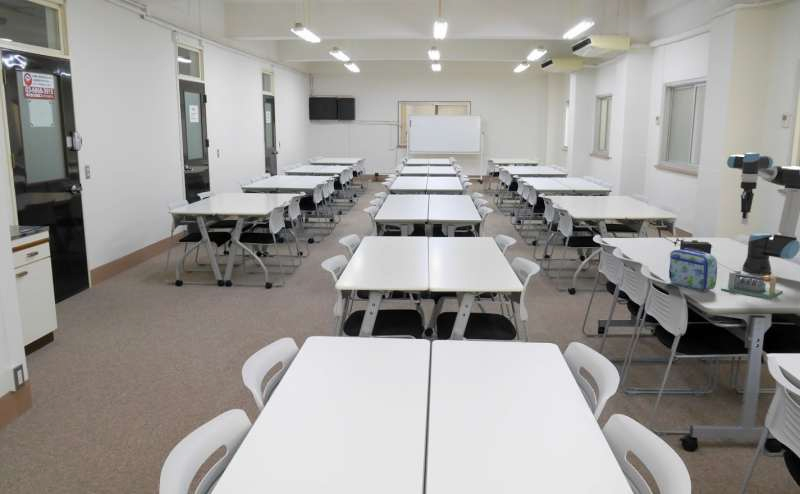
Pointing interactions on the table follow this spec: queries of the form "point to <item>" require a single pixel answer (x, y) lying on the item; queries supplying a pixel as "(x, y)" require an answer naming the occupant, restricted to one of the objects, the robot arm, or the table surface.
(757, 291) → the heatsink
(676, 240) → the molecular model
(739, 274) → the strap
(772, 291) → the board
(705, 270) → the lunch box
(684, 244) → the router
